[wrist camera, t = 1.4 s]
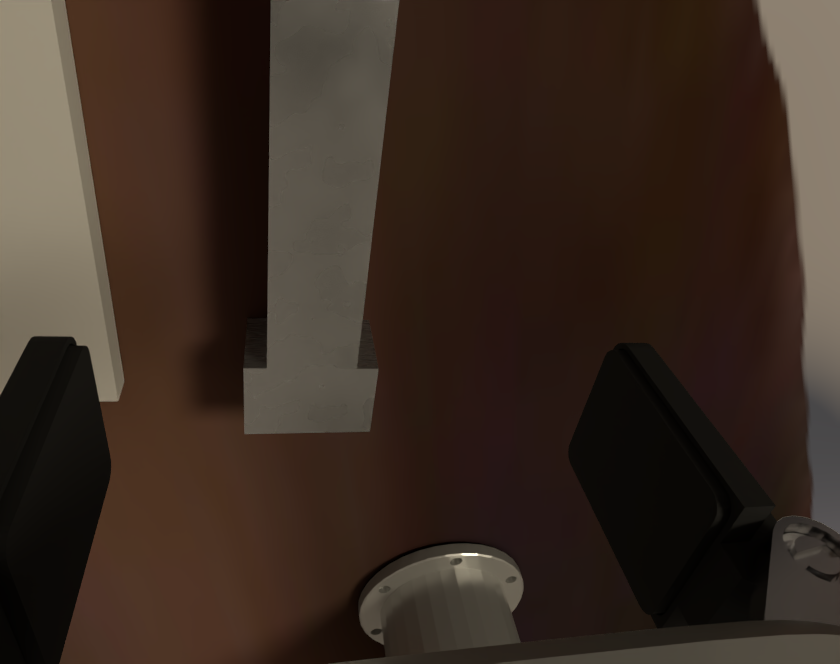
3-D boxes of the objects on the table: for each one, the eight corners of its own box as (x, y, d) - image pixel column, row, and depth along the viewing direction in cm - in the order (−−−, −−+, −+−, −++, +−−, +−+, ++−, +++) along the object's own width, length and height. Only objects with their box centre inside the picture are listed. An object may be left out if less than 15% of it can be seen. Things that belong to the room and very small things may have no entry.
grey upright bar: (361, 379, 34) (369, 431, 31) (248, 379, 33) (244, 433, 30) (450, -350, 18) (485, -397, 15) (238, -409, 17) (229, -472, 14)
